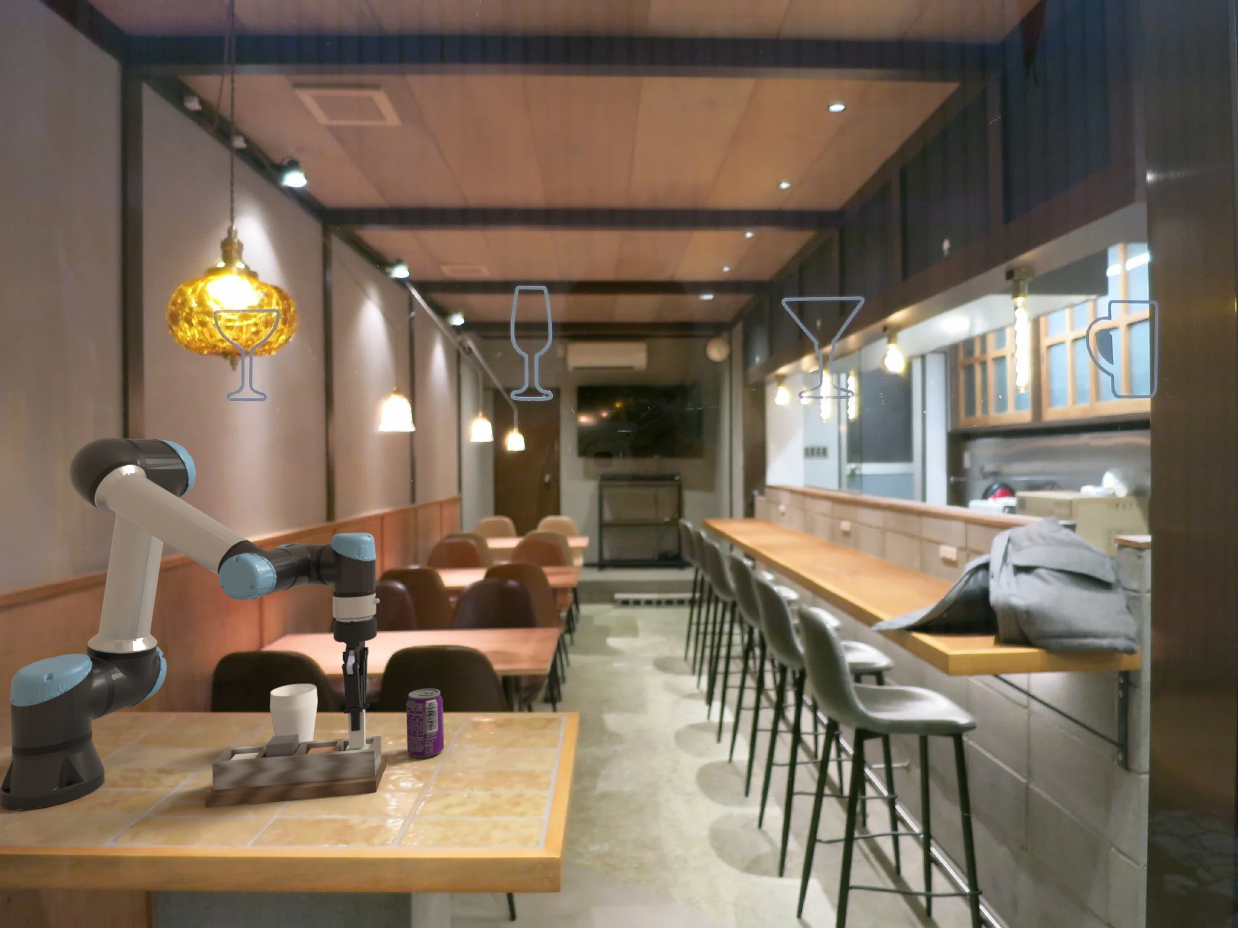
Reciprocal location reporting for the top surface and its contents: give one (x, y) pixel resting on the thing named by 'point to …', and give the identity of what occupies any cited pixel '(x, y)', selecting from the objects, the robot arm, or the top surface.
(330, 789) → the slotted block tray
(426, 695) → the beverage can
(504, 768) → the top surface
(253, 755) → the key ivory
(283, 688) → the cup
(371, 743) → the key sage
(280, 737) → the key charcoal
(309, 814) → the top surface
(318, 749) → the key terracotta
